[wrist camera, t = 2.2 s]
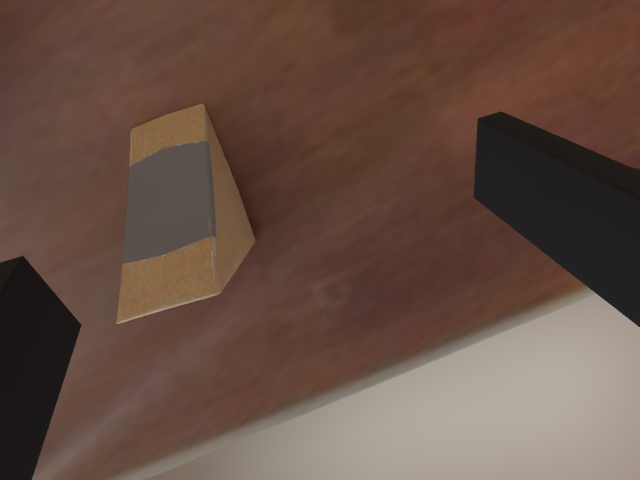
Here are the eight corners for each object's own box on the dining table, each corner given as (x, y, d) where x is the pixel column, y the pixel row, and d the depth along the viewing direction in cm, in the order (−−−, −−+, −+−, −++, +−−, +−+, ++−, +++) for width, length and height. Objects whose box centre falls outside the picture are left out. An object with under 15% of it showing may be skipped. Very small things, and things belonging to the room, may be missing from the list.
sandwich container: (205, 100, 39) (131, 77, 24) (258, 241, 42) (221, 294, 28) (128, 128, 40) (12, 122, 25) (186, 263, 43) (114, 327, 29)
